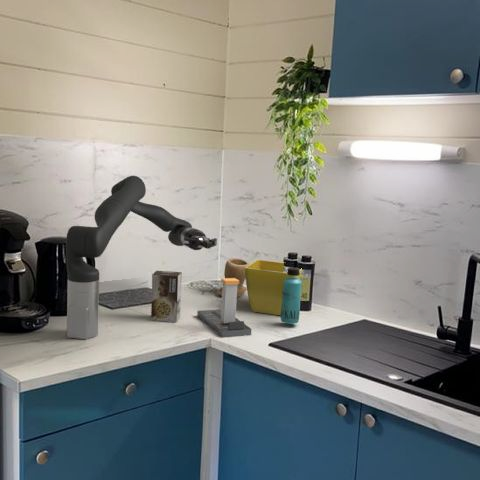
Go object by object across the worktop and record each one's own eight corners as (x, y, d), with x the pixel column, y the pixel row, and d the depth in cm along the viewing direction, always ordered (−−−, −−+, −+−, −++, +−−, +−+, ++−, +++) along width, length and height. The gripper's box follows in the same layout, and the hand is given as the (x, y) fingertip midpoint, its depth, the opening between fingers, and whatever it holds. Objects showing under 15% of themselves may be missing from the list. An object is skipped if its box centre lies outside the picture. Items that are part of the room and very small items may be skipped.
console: (251, 335, 193) (252, 321, 193) (222, 337, 189) (222, 323, 189) (223, 314, 215) (224, 302, 214) (197, 316, 211) (197, 303, 210)
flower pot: (302, 307, 232) (305, 264, 229) (292, 320, 214) (296, 273, 211) (254, 301, 237) (257, 259, 234) (241, 313, 219) (244, 267, 216)
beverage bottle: (286, 321, 211) (290, 265, 208) (302, 325, 207) (307, 268, 204) (276, 325, 206) (280, 267, 203) (292, 329, 202) (297, 271, 199)
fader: (236, 322, 197) (239, 280, 195) (223, 323, 196) (225, 281, 193) (232, 319, 201) (234, 278, 199) (219, 320, 199) (221, 278, 197)
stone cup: (241, 301, 236) (243, 263, 233) (213, 296, 240) (215, 259, 237) (253, 293, 250) (256, 257, 248) (227, 289, 254) (229, 254, 252)
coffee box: (180, 317, 208) (182, 271, 206) (176, 322, 202) (178, 275, 199) (154, 315, 209) (156, 269, 207) (150, 320, 203) (151, 273, 200)
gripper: (176, 228, 222) (191, 234, 206) (210, 228, 227) (227, 235, 211) (175, 248, 223) (190, 256, 207) (209, 248, 228) (226, 256, 212)
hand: (208, 245), depth 209 cm, fingers closed
